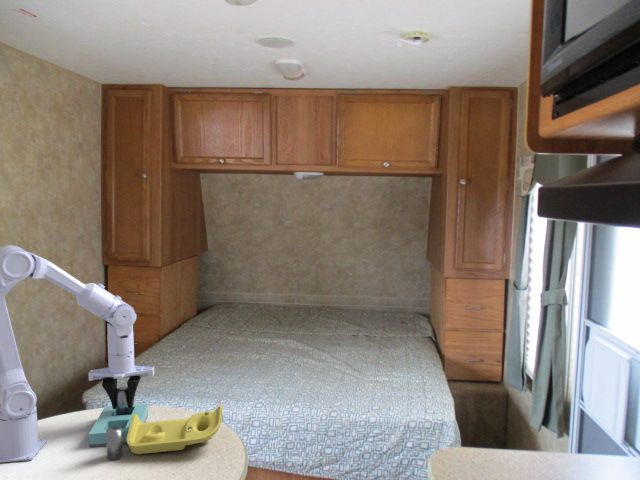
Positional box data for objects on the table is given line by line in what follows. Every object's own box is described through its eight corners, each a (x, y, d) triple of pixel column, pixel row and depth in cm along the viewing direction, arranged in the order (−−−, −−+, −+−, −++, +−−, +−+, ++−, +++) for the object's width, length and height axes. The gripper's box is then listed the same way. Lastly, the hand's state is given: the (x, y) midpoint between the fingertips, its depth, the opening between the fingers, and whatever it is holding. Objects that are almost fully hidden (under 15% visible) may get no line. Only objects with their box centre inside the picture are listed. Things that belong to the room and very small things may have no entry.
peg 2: (115, 416, 118) (114, 392, 117) (118, 410, 121) (117, 386, 120) (128, 415, 118) (127, 391, 117) (131, 409, 121) (130, 386, 120)
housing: (89, 447, 109) (88, 434, 108) (105, 418, 122) (105, 406, 122) (137, 443, 110) (136, 430, 110) (147, 415, 124) (147, 403, 124)
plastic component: (124, 447, 103) (134, 408, 112) (132, 468, 107) (141, 429, 116) (220, 437, 105) (223, 399, 113) (225, 458, 108) (227, 420, 117)
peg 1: (105, 461, 103) (104, 433, 103) (109, 453, 106) (108, 426, 105) (120, 460, 104) (119, 432, 103) (124, 452, 107) (123, 425, 106)
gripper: (83, 359, 113) (86, 416, 114) (150, 355, 115) (152, 411, 117) (92, 349, 120) (94, 403, 121) (155, 346, 122) (156, 399, 124)
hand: (123, 406), depth 119 cm, fingers closed on peg 2, 3 cm apart
